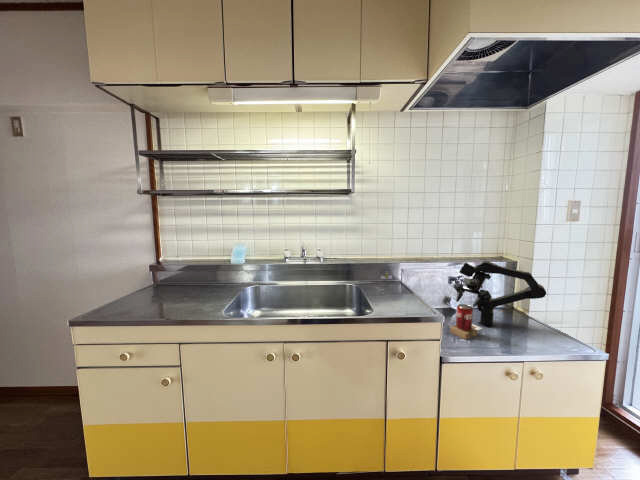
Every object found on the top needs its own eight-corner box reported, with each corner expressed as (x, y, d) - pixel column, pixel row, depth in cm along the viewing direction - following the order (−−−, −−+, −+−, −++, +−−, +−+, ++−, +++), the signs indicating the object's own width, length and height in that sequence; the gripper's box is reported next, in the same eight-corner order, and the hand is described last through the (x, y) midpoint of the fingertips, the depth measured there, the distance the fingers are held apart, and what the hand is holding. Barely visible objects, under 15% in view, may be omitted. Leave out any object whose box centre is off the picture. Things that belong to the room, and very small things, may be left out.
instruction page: (470, 323, 153) (470, 323, 153) (482, 328, 147) (482, 328, 147) (458, 327, 149) (458, 326, 149) (470, 332, 143) (470, 332, 143)
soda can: (473, 328, 141) (474, 305, 140) (469, 333, 136) (471, 310, 134) (458, 324, 146) (459, 302, 145) (454, 328, 141) (455, 306, 139)
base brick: (461, 328, 147) (461, 323, 147) (477, 335, 139) (477, 330, 139) (449, 332, 143) (450, 326, 143) (465, 339, 135) (465, 334, 135)
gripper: (456, 269, 155) (443, 291, 151) (490, 276, 139) (476, 300, 135) (463, 280, 160) (451, 302, 156) (497, 288, 144) (484, 312, 140)
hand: (464, 304), depth 147 cm, fingers open, 9 cm apart
